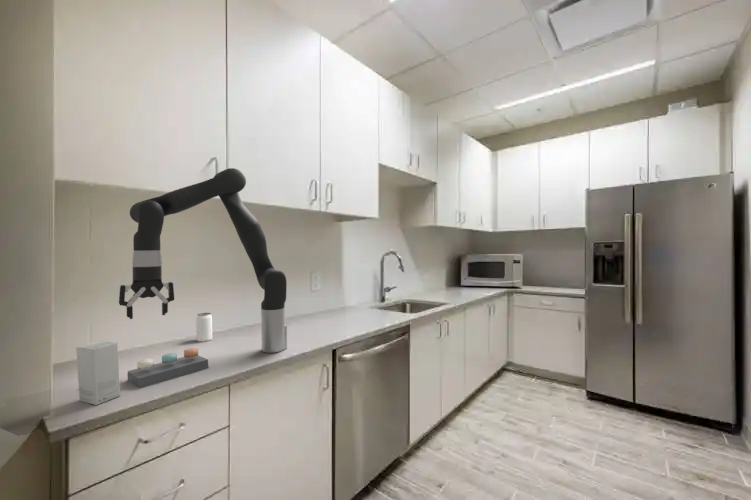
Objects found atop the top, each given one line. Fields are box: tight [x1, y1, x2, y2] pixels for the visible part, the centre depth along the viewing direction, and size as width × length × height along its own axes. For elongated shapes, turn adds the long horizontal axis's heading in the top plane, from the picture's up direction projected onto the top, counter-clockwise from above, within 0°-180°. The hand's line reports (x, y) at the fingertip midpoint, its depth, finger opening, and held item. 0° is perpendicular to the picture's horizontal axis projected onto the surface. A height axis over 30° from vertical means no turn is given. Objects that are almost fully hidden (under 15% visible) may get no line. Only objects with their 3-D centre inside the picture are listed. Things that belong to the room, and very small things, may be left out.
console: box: [127, 355, 209, 389], centre depth 114 cm, size 21×10×3 cm, turn 143°
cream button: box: [136, 358, 155, 370], centre depth 109 cm, size 4×4×2 cm
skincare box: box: [75, 340, 121, 406], centre depth 96 cm, size 8×7×16 cm
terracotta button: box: [183, 347, 199, 358], centre depth 120 cm, size 4×4×2 cm
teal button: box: [161, 352, 178, 364], centre depth 114 cm, size 4×4×2 cm
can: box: [195, 312, 213, 343], centre depth 155 cm, size 6×6×12 cm
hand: (147, 316), depth 106 cm, fingers open, 8 cm apart
